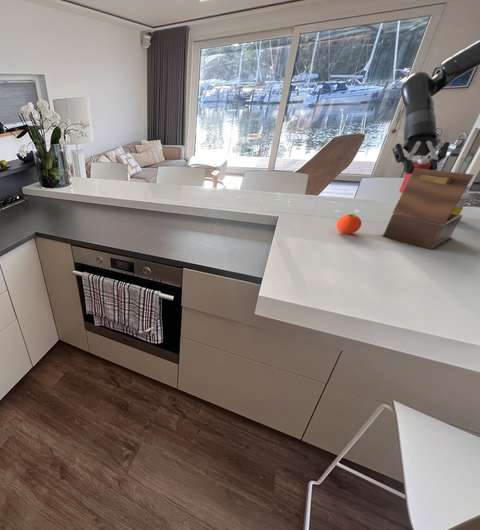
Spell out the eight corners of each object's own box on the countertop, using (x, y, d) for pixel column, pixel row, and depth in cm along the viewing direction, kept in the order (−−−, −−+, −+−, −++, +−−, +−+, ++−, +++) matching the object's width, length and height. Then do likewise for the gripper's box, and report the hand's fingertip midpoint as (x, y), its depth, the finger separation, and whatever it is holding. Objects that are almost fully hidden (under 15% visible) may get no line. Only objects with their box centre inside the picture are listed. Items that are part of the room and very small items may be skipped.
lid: (415, 168, 89) (409, 167, 87) (474, 174, 79) (468, 174, 77) (393, 213, 95) (386, 214, 93) (444, 224, 85) (439, 225, 83)
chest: (402, 226, 104) (411, 205, 100) (450, 237, 94) (462, 215, 90) (383, 235, 99) (392, 214, 95) (431, 249, 89) (443, 226, 85)
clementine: (334, 226, 108) (340, 208, 104) (357, 230, 104) (364, 211, 101) (333, 234, 102) (339, 216, 99) (357, 238, 99) (364, 219, 95)
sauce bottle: (403, 189, 101) (416, 156, 96) (421, 192, 97) (436, 158, 92) (396, 192, 99) (409, 159, 94) (414, 195, 95) (429, 161, 90)
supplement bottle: (429, 214, 111) (445, 181, 104) (453, 217, 107) (472, 182, 101) (432, 220, 106) (449, 186, 100) (457, 223, 102) (477, 187, 96)
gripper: (398, 121, 96) (399, 166, 92) (456, 118, 91) (458, 165, 87) (386, 136, 103) (386, 178, 99) (439, 134, 98) (441, 178, 94)
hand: (420, 172), depth 93 cm, fingers closed on sauce bottle, 5 cm apart
